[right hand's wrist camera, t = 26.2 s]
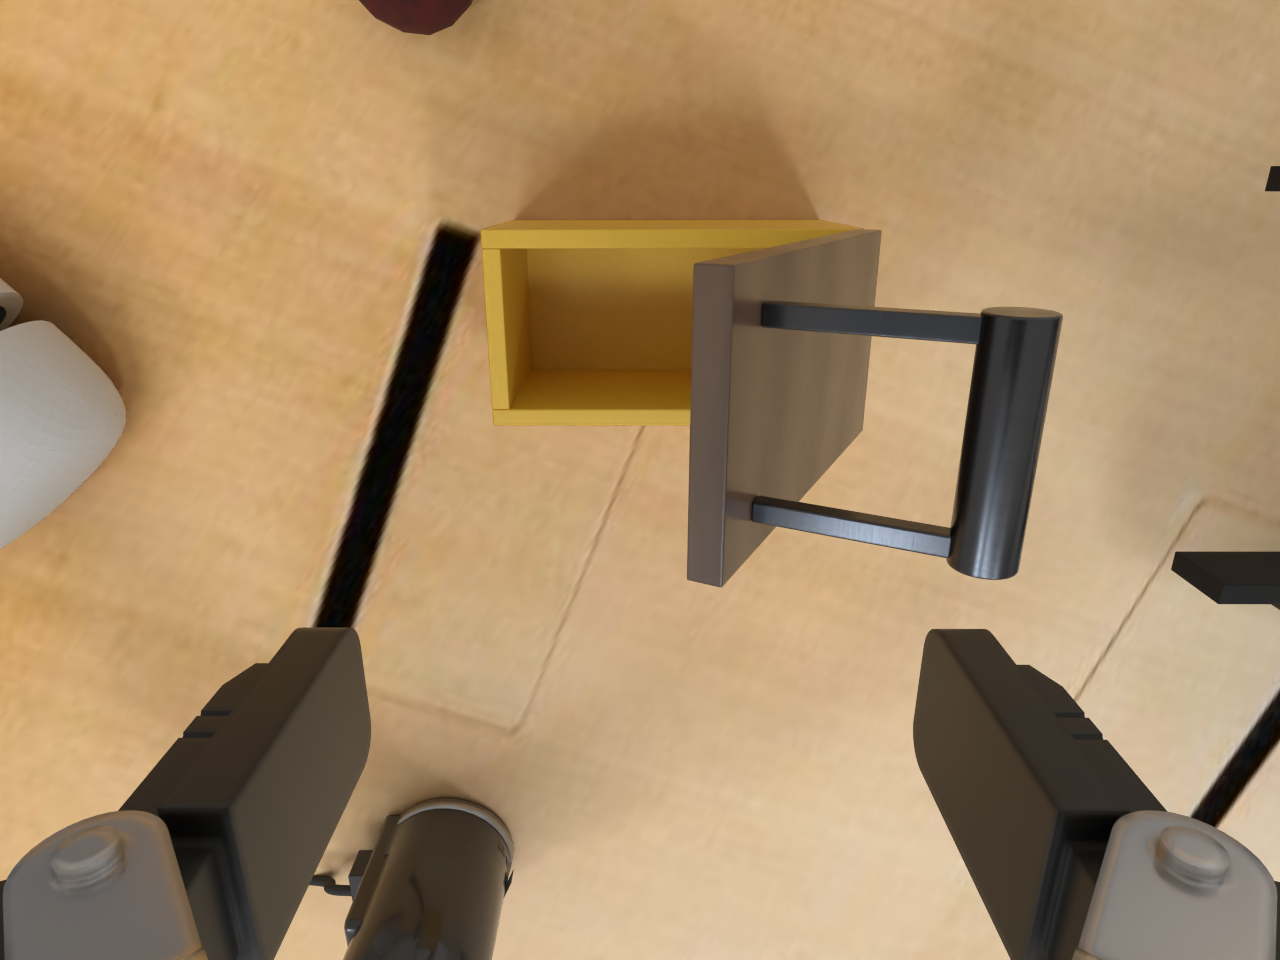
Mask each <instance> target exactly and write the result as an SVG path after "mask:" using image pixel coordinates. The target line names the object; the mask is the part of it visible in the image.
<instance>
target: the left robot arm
mask: <svg viewBox="0 0 1280 960" xmlns="http://www.w3.org/2000/svg"><path fill="white" fill-rule="evenodd" d="M1265 191H1280V166H1271V169H1270V173H1269V177H1268V181H1267V185H1266V189H1265ZM1171 570H1172V571H1174V572H1175V573H1176V574H1178V575H1179V576H1181V577H1182V578H1183V579H1185V580H1186V581H1187V582H1189V583H1190V584H1192V585H1193V586H1194V587H1196V588H1197V589H1198V590H1200V591H1201V592H1203V593H1204V594H1205V595H1207V596H1208V597H1209V598H1211V599H1212V600H1214V601H1215V602H1216V603H1218V604H1272V605H1273V606H1275V607H1276V608H1278V609H1279V610H1280V552H1175V556H1174V560H1173V564H1172V568H1171Z"/></svg>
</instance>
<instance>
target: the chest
mask: <svg viewBox="0 0 1280 960" xmlns="http://www.w3.org/2000/svg"><path fill="white" fill-rule="evenodd" d="M857 229H860V230H864V229H862V228H857V227H852V226H848V225H843V224H838V223H833V222H828V221H823V220H513V221H509V222H505V223H502V224H498V225H495V226H491V227H488V228H485V229H481V245H482V248H483V249H482V260H483V276H484V291H485V306H486V322H487V337H488V352H489V367H490V383H491V398H492V409H493V424H494V425H495V426H505V425H690V410H691V362H692V313H693V266H694V263H698V262H703V261H707V260H712V259H717V258H722V257H727V256H731V255H736V254H741V253H746V252H751V251H756V250H760V249H765V248H770V247H775V246H780V245H784V244H789V243H794V242H799V241H804V240H808V239H813V238H818V237H823V236H828V235H833V234H837V233H842V232H847V231H852V230H857Z"/></svg>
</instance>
